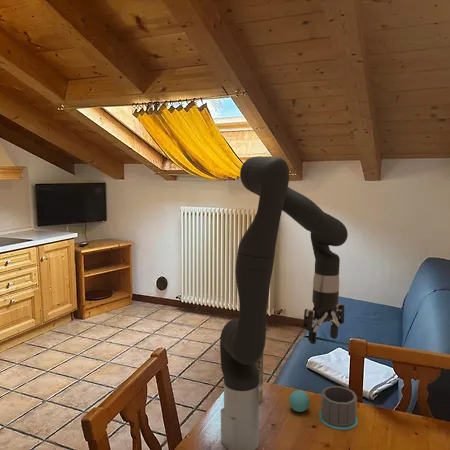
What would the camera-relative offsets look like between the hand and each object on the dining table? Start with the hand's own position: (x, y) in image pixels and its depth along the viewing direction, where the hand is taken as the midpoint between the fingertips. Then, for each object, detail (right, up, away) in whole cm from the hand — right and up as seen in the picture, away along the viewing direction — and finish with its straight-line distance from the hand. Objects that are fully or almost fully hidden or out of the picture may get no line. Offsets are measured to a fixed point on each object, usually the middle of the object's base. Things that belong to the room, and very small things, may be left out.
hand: (323, 340), depth 129 cm
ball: (-7, -18, -1) cm, 19 cm away
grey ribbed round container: (+3, -21, -5) cm, 22 cm away
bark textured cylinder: (-21, -20, +5) cm, 30 cm away
